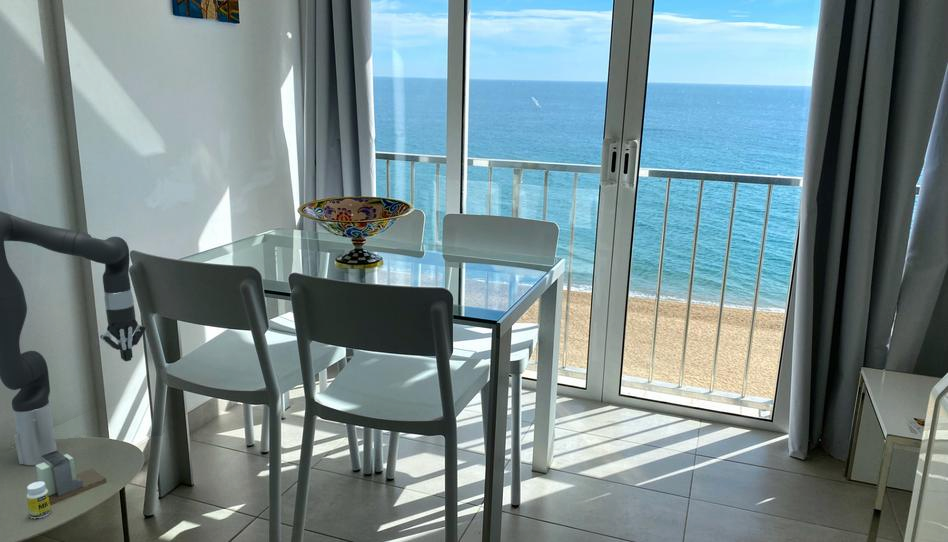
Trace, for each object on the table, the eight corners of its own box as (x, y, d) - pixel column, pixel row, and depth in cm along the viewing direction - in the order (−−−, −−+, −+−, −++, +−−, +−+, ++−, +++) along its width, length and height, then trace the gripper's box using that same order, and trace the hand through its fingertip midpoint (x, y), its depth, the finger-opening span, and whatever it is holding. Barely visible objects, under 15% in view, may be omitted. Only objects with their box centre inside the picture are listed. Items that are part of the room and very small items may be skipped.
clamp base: (92, 472, 204) (87, 439, 202) (106, 482, 199) (101, 448, 196) (35, 494, 193) (29, 459, 190) (48, 505, 187) (42, 469, 185)
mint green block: (71, 479, 197) (67, 453, 196) (77, 484, 195) (73, 458, 193) (40, 492, 191) (35, 465, 189) (46, 496, 189) (41, 469, 187)
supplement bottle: (41, 520, 181) (36, 491, 179) (25, 518, 182) (20, 489, 180) (55, 510, 185) (50, 481, 183) (40, 508, 186) (35, 479, 184)
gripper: (135, 298, 214) (142, 351, 218) (90, 308, 204) (98, 364, 208) (147, 302, 210) (154, 356, 214) (102, 312, 200) (110, 369, 204)
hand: (127, 360), depth 211 cm, fingers closed
